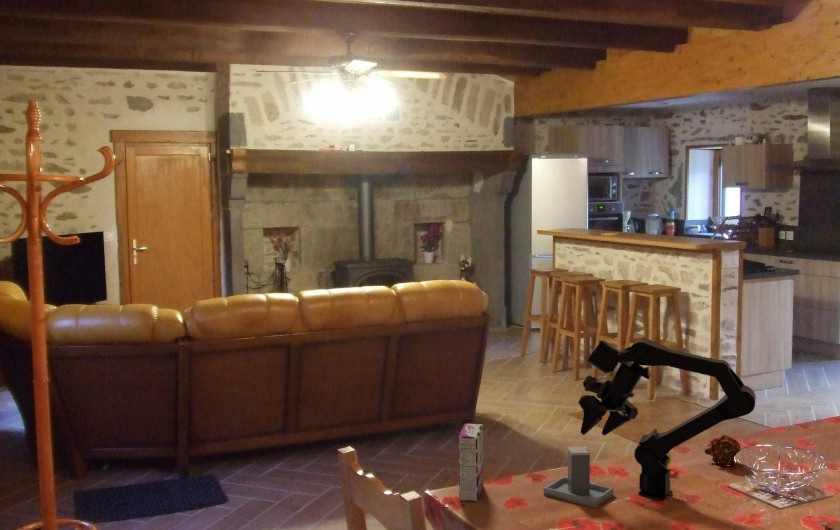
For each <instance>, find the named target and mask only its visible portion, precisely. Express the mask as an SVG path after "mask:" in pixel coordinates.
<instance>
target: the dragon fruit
mask: <svg viewBox="0 0 840 530" xmlns="http://www.w3.org/2000/svg"><path fill="white" fill-rule="evenodd" d="M706 446H707V447H708V448H704V449H703V450H704V454H706V455H709V456H711V457H712V461H713V462H714V463H715V464H717V463H718V462H719V464H720V465H723V466H724V465H731V464H732V465H736V464H737V463H735V461H734V456H735V455H736V454H737V453H738V452H739V451H740V450H742V449H741V444H740V442H739V441H738V440H737V439H734V437H732V436H729V435H725V434H722V435H721V436H720V437H718V438H717V437H715V438H713V439H712V440H711V441H710V443H709V444H707V445H706ZM732 465H731V466H732Z"/></svg>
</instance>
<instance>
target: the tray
mask: <svg viewBox="0 0 840 530" xmlns="http://www.w3.org/2000/svg"><path fill="white" fill-rule="evenodd" d="M543 495H544V496H547V497H552V498H556V499H559V500H562V501H566V502H571V503H575V504H577V505H583V506H586V507H590V508H594V507H595V509H596V508H597V507H598V505H599V506H601V505H602V504H603V503H604V502H606V501H608V500H609V499H610V498H612V497H614V487H610V486H606V485H603V484H598V483H592V482H590V496H579V495H575V494H571V493H569V491H568V476H562V477H559V478H558V479H556V480H554V481H553V482H551V483H549V484H548V485H546V486H544V487H543ZM611 496H612V497H611ZM605 500H606V501H605ZM601 503H602V504H601Z"/></svg>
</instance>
